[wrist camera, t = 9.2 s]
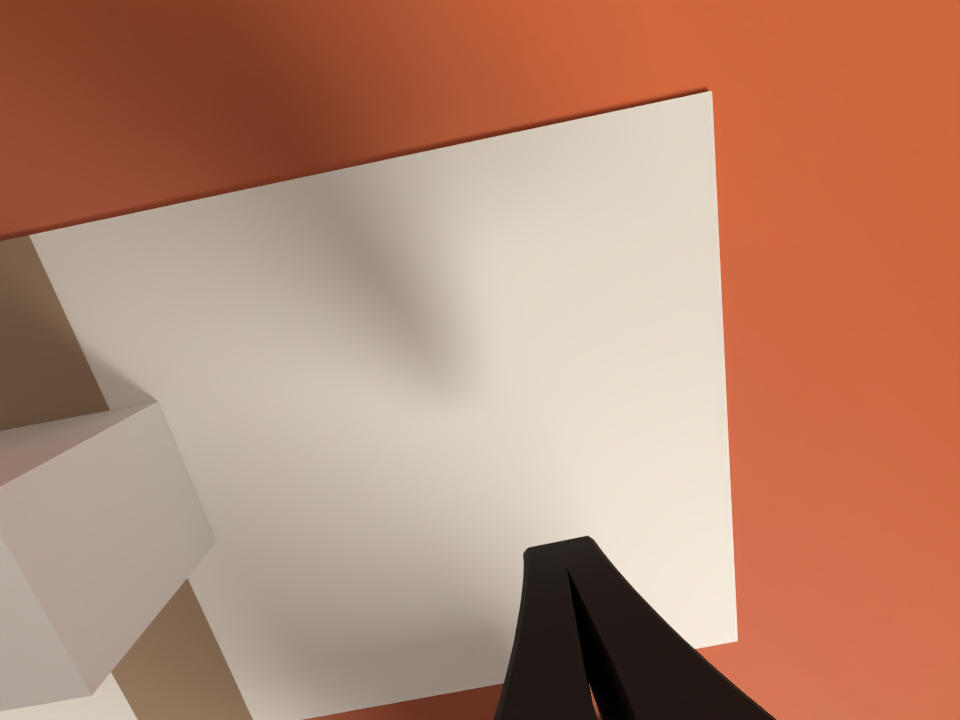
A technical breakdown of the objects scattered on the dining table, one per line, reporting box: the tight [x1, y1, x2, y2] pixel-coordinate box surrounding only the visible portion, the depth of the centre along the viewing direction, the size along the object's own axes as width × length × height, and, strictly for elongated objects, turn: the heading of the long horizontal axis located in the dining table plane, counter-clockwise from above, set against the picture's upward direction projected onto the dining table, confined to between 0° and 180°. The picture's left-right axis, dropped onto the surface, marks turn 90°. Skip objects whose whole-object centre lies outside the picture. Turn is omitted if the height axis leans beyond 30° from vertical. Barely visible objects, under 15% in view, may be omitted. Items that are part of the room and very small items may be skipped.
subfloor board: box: [0, 91, 738, 720], centre depth 14 cm, size 18×28×1 cm, turn 101°
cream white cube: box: [0, 401, 216, 712], centre depth 11 cm, size 5×5×5 cm
